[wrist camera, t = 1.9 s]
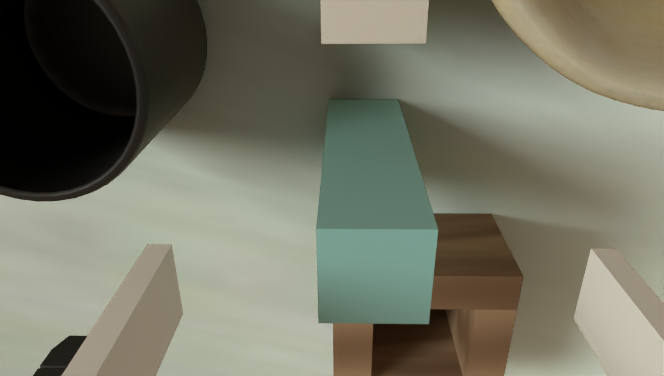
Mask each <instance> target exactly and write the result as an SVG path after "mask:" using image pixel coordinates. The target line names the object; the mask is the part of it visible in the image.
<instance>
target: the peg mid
mask: <svg viewBox="0 0 664 376" xmlns="http://www.w3.org/2000/svg"><path fill="white" fill-rule="evenodd" d="M320 2H321V44H426V35H427V21H428V7H429V0H320Z"/></svg>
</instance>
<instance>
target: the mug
mask: <svg viewBox="0 0 664 376" xmlns="http://www.w3.org/2000/svg"><path fill="white" fill-rule="evenodd" d="M206 55H207V38H206V30H205V25H204V21H203V17H202V14H201V10H200V8H199V5H198V3H197V1H196V0H0V194H1V195H5V196H9V197H13V198H17V199H23V200H31V201H59V200H66V199H72V198H77V197H80V196H83V195H86V194H89V193H91V192H94V191H96V190H98V189H100V188H101V187H103V186H105V185H107V184H109V183H110V182H111V181H112V180H114V179H115V178H116V177H117V176H119V175H120V174H121V173H122V172H123V171H124V170H125V169H126V168H127V167H128V165H129V164H130V163H131V162H132V161H133V160H134V159H135V158H136V157H137V156H138V155H139V153H140V152H141V151H142V150H143V149H144V148H145V147H146V146H147V145H148V144H149V143H150V142H151V140H152V139H153V138H154V137H155V136H156V135H157V134H158V133H159V132H160V131H161V130H162V128H163V127H164V126H165V125H166V124H167V123H168V122H169V121H170V120H171V119H172V118H173V116H174V115H175V114H176V113H177V112H178V111H179V110H180V109H181V108H182V107H183V106H184V104H185V103H186V102H187V101H188V100H189V99H190V97H191V96H192V95H193V93H194V92H195V90H196V88H197V87H198V85H199V82H200V80H201V77H202V75H203V72H204V68H205V62H206Z"/></svg>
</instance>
